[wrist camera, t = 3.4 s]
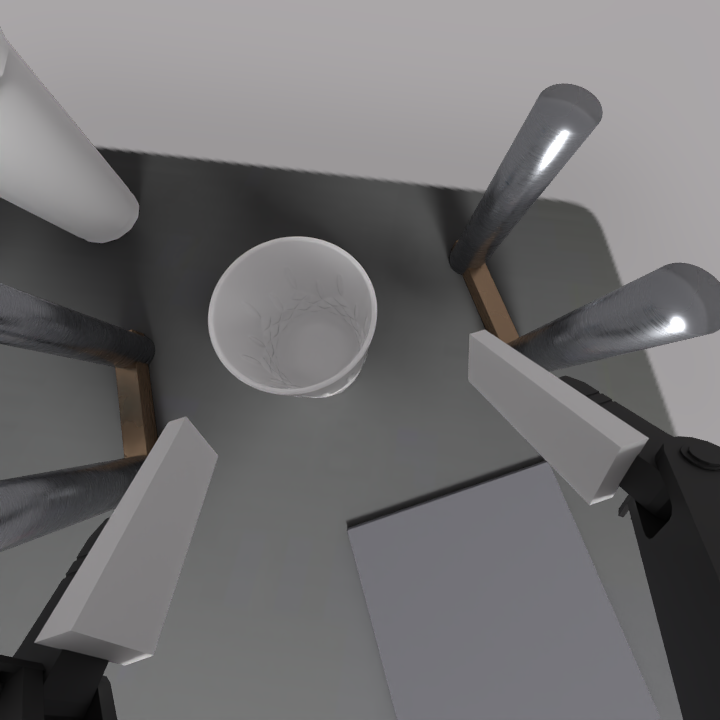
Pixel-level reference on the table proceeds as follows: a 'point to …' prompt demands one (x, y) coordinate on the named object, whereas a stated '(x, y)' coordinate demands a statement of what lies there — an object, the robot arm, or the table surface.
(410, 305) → the table surface
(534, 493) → the mat
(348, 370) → the white cup
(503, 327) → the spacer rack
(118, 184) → the foam cup
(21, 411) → the table surface
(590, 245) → the table surface
